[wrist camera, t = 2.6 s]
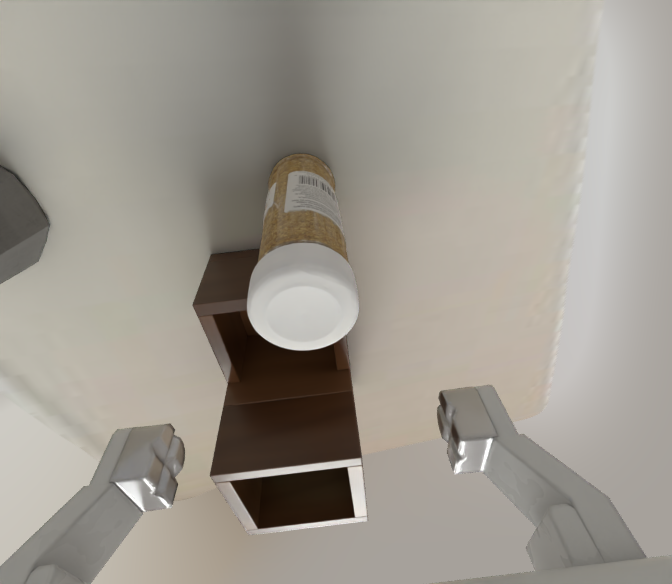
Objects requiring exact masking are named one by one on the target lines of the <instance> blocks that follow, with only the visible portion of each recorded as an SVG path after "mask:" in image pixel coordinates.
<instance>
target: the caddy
mask: <svg viewBox="0 0 672 584" xmlns="http://www.w3.org/2000/svg"><path fill="white" fill-rule="evenodd" d="M259 251H260V249H255V250H246V251H238V252H230V253H221V254H213V255H211V256H210V259H209V262H208V264H207V267H206V270H205V272H204V275H203V278H202V280H201V283H200V286H199V289H198V291H197V294H196V297H195V300H194V302H193V307H194V309H195V312H196V314H197V316H198V318H199V320H200V322H201V325H202V327H203V329H204V331H205V334H206V336H207V338H208V340H209V343H210V345H211V347H212V349H213V352H214V354H215V356H216V358H217V361H218V363H219V365H220V367H221V370H222V372H223V374H224V376H225V379H226V381H227V383H228V385H227V391H226V396H225V401H224V407H223V411H222V416H221V421H220V426H219V431H218V436H217V441H216V447H215V452H214V457H213V462H212V467H211V472H210V477H211V478H212V480H213V481H214V483H215V485H216V486H217V488H218V489H219V491H220V492H221V494H222V495H223V497H224V498H225V500H226V501H227V503H228V504H229V506H230V507H231V509H232V511H233V512H234V514H235V515H236V516H237V518H238V520H239V521H240V523H241V524H242V526H243V527H244V529H245V530H246V532H247V533H248V534H249V535H254V534H263V533H271V532H280V531H288V530H296V529H304V528H313V527H321V526H329V525H338V524H346V523H354V522H363V521H368V513H367V503H366V494H365V483H364V474H363V465H362V454H361V447H360V439H359V432H358V424H357V417H356V410H355V402H354V395H353V387H352V380H351V372H350V364H349V354H348V345H347V336H346V335H345V336H344V337H343V338H341V339H340V340H338V341H337V342H335V343H333V344H331V345H329V346H326V347H323V348H319V349H314V350H291V349H286V348H282V347H279V346H277V345H275V344H272V343H271V342H269V341H267V340H266V339H264V338H263V337H262V336H261V335H259V334H258V333H257V332H256V330H255V329H254V327H253V326H252V324H251V322H250V320H249V317H248V313H247V298H248V290H249V284H250V279H251V275H252V272H253V270H254V268H255V266H256V265H257V263H258V259H259Z"/></svg>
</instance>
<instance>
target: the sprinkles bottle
mask: <svg viewBox="0 0 672 584" xmlns="http://www.w3.org/2000/svg"><path fill="white" fill-rule="evenodd" d="M268 186H269V193H268V196H267V200H266V206H265V212H264V218H263V232H262V239H261V245H260V251H259V259H258V263H257V265H256V266H255V268H254V270H253V272H252V275H251V279H250V284H249V290H248V298H247V313H248V317H249V320H250V322H251V324H252V326H253V327H254V329H255V330H256V332H257V333H258V334H259V335H261V336H262V337H263V338H264V339H266V340H267V341H269V342H271V343H272V344H275V345H277V346H279V347H282V348H286V349H291V350H314V349H319V348H323V347H326V346H329V345H331V344H333V343H335V342H337V341H338V340H340V339H341V338H343V337H344V336H345V335H346V334H347V333H348V332H349V331H350V330H351V329H352V327H353V326H354V324H355V322H356V320H357V317H358V313H359V296H358V290H357V284H356V279H355V276H354V273H353V270H352V268H351V266H350V265H349V263H348V258H347V252H346V241H345V235H344V230H343V225H342V220H341V215H340V210H339V205H338V200H337V197H336V194H335V181H334V177H333V175H332V172H331V171H330V169H329V168H328V166H326V164H325V163H324V162H322V161H321V160H320V159H318V158H317V157H315V156H311V155H309V154H293V155H291V156H288V157H285V158H283V159H281V160H280V161H279V162H278V163H277V164H276V166H275V167H274V168H273V171H272V172H271V175H270V177H269V182H268Z"/></svg>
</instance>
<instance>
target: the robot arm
mask: <svg viewBox="0 0 672 584" xmlns="http://www.w3.org/2000/svg"><path fill="white" fill-rule="evenodd" d="M439 401H440V404H441V405H439V406H438V408H437V418H438V425H439V429H440V433H441V436H442V438H443V439H444V440H445V441H446V442H447V443H448V448H447V454H448V457H449V460H450V463H451V466H452V469H453V471H454V474H461V473H473V472H483V473H484V474H485V475H486V476H487V477H488V478H489V479H490V480H491V481H492V482H493V484H495V485H496V486H497V488H498V489H499V490H500V491H501V492H502V493H503V494H504V495H505V496H506V497H507V498H508V499H509V500H510V501H511V502H512V503H513V504H514V505H515V506H516V507H517V508H518V509H519V510H520V511H521V512H522V513H523V514H524V515H525V516H526V517H527V518H528V519H529V520H530V521H531V522H532V523H533V524H534V525H535V526H536V527H537V529H536V530H535V532H534V534H533V536H532V537H531V539H530V541H529V542H528V544H527V546H526V549H527V552H528V554H529V557H530V559H531V562H532V564H533V567H534V569H535V571H532V572H524V573H516V574H507V575H499V576H491V577H482V578H473V579H466V580H457V581H448V582H439V583H431V584H672V555H669V556H660V557H652V558H647V557H646V555H645V554H644V552H643V551H642V549H641V548H640V546H639V544H638V543H637V541H636V540H635V538H634V537H633V535H632V533H631V532H630V530H629V528H628V527H627V525H626V524H625V522H624V521H623V519H622V517H621V516H620V514H619V513H618V511H617V510H616V508H615V506H614V505H613V503H612V502H611V500H610V498H609V497H608V496H606V495H605V494H604V493H602V492H601V491H600V490H598V489H597V488H596V487H594V486H593V485H591V484H590V483H589V482H587V481H586V480H585V479H583V478H582V477H581V476H579V475H578V474H577V473H575V472H574V471H573V470H571V469H570V468H569V467H567V466H566V465H565V464H563V463H562V462H561V461H559V460H558V459H557V458H555V457H554V456H552V455H551V454H550V453H548V452H547V451H545V450H544V449H543V448H542V447H540V446H539V445H538V444H536V443H535V442H534V441H532V440H531V439H530V438H528V437H527V436H526V435H524V434H520V435H519V434H518V432H517V431H516V429H515V427H514V425H513V423H512V421H511V419H510V417H509V415H508V413H507V411H506V409H505V408H504V406H503V404H502V402H501V400H500V398H499V396H498V394H497V392H496V390H495V388H494V387H493V386H492V385H484V386H477V387H465V388H458V389H451V390H443V391H440V393H439ZM174 431H175V429H174V428H173V426H172V425H171V424H163V425H153V426H144V427H133V428H125V429H117V431H116V432H115V433H114V434H113V435H112V437H111V439H110V441H109V443H108V445H107V448H106V450H105V452H104V454H103V456H102V458H101V461H100V463H99V465H98V467H97V469H96V471H95V474H94V476H93V478H92V480H91V482H90V484H89V486H84V487H83V488H82V489H81V490H80V491H78V492H77V493H76V494H75V495H74V496H73V497H72V498H71V499H70V500H69V501H68V502H67V503H66V504H65V505H64V506H63V507H62V508H61V509H60V510H59V511H58V512H57V513H56V514H55V515H54V516H52V517H51V518H50V519H49V520H48V521H47V522H46V523H45V524H44V525H43V526H42V527H41V528H40V529H39V530H38V531H37V532H36V533H35V534H34V535H33V536H32V537H31V538H29V539H28V540H27V541H26V542H25V543H24V544H23V545H22V546H21V547H20V548H19V549H18V550H17V551H16V552H15V553H14V554H13V555H12V556H11V557H10V558H9V559H8V560H7V561H5V562H4V563H3V564H2V565H1V566H0V584H91V582H92V581H93V580H94V578H95V577H96V576H97V574H98V573H99V572H100V570H101V569H102V568H103V567H104V565H105V564H106V563H107V561H108V560H109V559H110V557H111V556H112V554H113V553H114V552H115V550H116V549H117V548H118V547H119V545H120V544H121V542H122V541H123V540H124V538H125V537H126V536H127V534H128V533H129V532H130V530H131V529H132V528H133V527H134V525H135V524H136V522H137V521H138V520H139V518H140V517H141V516H142V515H143V513H142V512H146V511H153V510H159V509H166V508H171V507H172V505H173V501H174V497H175V494H176V490H177V486H178V483H177V481H176V478H175V477H176V475H177V474H178V473H179V472H180V471H181V470H182V468H183V464H184V460H185V448H184V444H183V441H182V440H181V438H179V437H177V436H175V435H174Z"/></svg>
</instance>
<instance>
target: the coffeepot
mask: <svg viewBox="0 0 672 584" xmlns="http://www.w3.org/2000/svg"><path fill="white" fill-rule="evenodd" d="M49 226H50V225H49V223H48V221H47V219H46V217H45V215H44V213H43V211H42V210H41V208H40V206H39V205H38V203H37V201H36V199H35V198H34V197H33V196H32V195H31V193H30V192H29V191H28V190H27V188H26V187H25V186H24V185H23V184H21V183H20V182H19V181H18V180H17V178H16V177H15V176H14V175H13V174H12V173H10V172H9V171H7V170H5V169H4V168H2V167H0V284H1V283H3V282H5V281H6V280H8V279H10V278H11V277H13V276H15V275H16V274H18V273H20V272H21V271H23V270H25V269H27V268H28V267H30V266H32V265H33V264H35V263H37V262H38V261H39V258H40V255H41V252H42V250H43V248H44V245H45V243H46V240H47V233H48V229H49Z"/></svg>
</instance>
